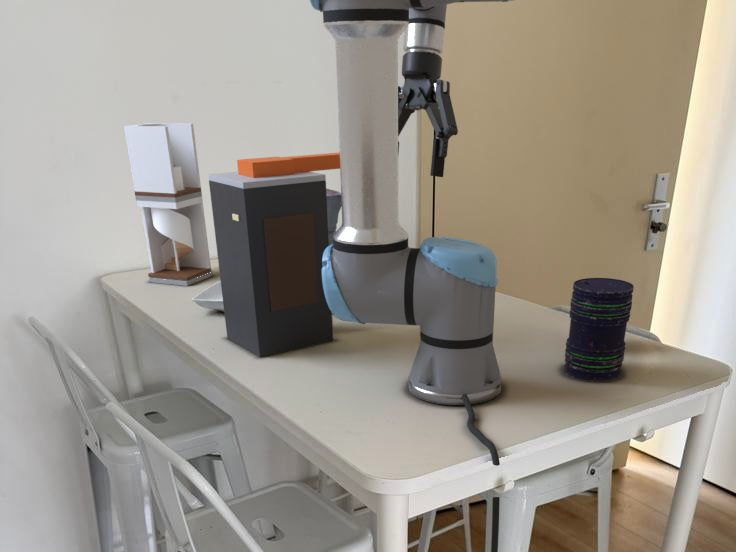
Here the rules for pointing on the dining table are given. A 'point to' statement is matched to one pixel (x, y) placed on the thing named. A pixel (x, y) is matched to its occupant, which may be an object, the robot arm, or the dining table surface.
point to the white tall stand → (169, 201)
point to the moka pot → (332, 212)
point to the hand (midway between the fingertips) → (412, 176)
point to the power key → (287, 165)
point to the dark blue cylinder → (597, 328)
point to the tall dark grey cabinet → (272, 259)
